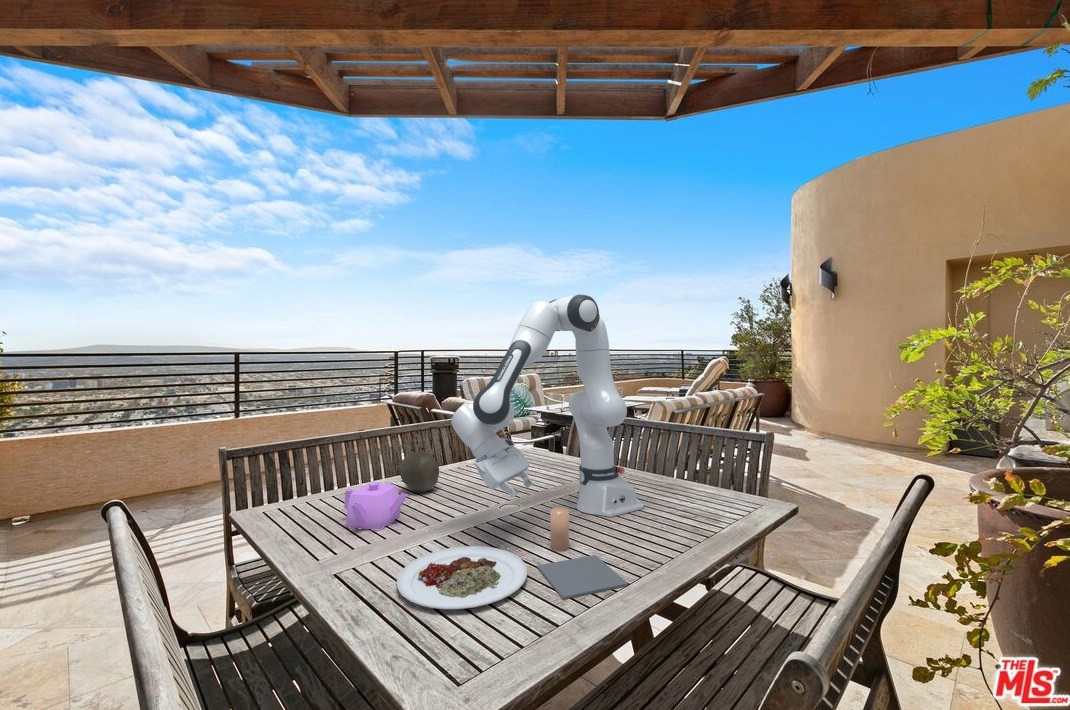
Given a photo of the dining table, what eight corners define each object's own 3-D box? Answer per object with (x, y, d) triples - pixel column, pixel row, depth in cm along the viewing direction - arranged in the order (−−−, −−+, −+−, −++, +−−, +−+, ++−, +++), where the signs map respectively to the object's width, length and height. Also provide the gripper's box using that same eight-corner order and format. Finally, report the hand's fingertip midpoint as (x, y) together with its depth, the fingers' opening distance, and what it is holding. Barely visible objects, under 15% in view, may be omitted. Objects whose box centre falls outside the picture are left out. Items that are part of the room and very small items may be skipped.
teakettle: (392, 509, 163) (391, 472, 163) (410, 524, 149) (409, 484, 149) (339, 520, 153) (338, 481, 153) (353, 537, 139) (352, 494, 139)
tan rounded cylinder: (564, 542, 133) (564, 506, 133) (572, 549, 129) (571, 512, 128) (547, 545, 132) (547, 508, 131) (554, 552, 127) (554, 514, 127)
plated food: (543, 602, 103) (543, 586, 103) (397, 627, 94) (397, 610, 94) (510, 546, 131) (510, 534, 131) (396, 562, 123) (396, 549, 123)
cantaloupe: (427, 484, 192) (426, 446, 192) (446, 491, 181) (445, 452, 181) (394, 491, 182) (393, 452, 182) (412, 500, 172) (411, 458, 172)
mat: (595, 557, 124) (595, 554, 124) (628, 585, 109) (628, 583, 109) (536, 567, 118) (536, 565, 118) (563, 599, 103) (563, 597, 103)
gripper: (479, 453, 128) (512, 494, 124) (514, 439, 146) (544, 474, 142) (465, 468, 130) (497, 509, 126) (502, 452, 148) (531, 487, 144)
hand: (523, 490), depth 134 cm, fingers open, 8 cm apart
